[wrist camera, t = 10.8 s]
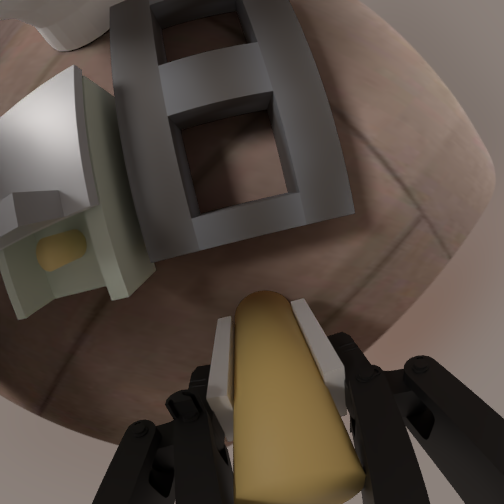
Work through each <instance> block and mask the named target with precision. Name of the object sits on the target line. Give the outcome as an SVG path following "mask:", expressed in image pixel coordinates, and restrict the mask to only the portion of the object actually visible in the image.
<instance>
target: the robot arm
mask: <svg viewBox="0 0 504 504" xmlns="http://www.w3.org/2000/svg"><path fill="white" fill-rule="evenodd" d="M291 306H292V311H293V313H294V316H295V318H296V320H297V322H298V325H299V327H300V329H301V331H302V334H303V336H304V338H305V340H306V343H307V345H308V347H309V349H310V352H311V354H312V356H313V359H314V361H315V363H316V365H317V368H318V370H319V372H320V375H321V377H322V379H323V382H324V384H325V385H326V387H327V388H328V389H329V391H330V394H331V396H332V398H333V400H334V403H335V405H336V407H337V409H338V412H339V414H340V416H345V415H347V409H348V411H349V413H350V432H352V435H353V440H354V446H355V451H356V453H357V456H358V458H359V460H360V463H361V465H362V467H363V470H364V472H365V475H366V477H365V483H364V488H363V489H362V490H361V491H362V499H363V504H430V501H429V497H428V494H427V490H426V487H425V483H424V480H423V477H422V474H421V470H420V467H419V464H418V461H417V458H416V455H415V453H414V449H413V446H412V443H411V440H410V438H409V435H408V432H407V429H406V427H407V428H408V429H409V431H410V432H411V433H412V434H413V436H414V437H415V438H416V439H417V441H418V442H419V444H420V445H421V446H422V447H423V449H424V450H425V451H426V453H427V454H428V455H429V456H430V458H431V459H432V460H433V462H434V463H435V464H436V466H437V467H438V468H439V470H440V471H441V472H442V473H443V475H444V476H445V477H446V479H447V480H448V481H449V483H450V484H451V485H452V487H453V488H454V489H455V490H456V492H457V493H458V494H459V496H460V497H461V499H462V500H463V501H464V503H465V504H504V419H503V418H502V417H501V416H500V415H499V414H498V413H496V412H495V411H494V410H493V409H492V408H491V407H490V406H489V405H487V404H486V403H485V402H484V401H483V400H482V399H481V398H479V397H478V396H477V395H476V394H474V392H472V391H471V390H470V389H469V388H468V387H466V386H465V385H464V384H463V383H462V382H461V381H459V380H458V379H457V378H456V377H455V376H453V375H452V374H451V373H450V372H449V371H447V370H446V369H445V368H444V367H443V366H441V365H440V364H439V363H438V362H437V361H435V360H434V359H433V358H431V357H429V356H424V355H422V356H415V357H412V358H411V359H409V360H408V361H407V362H406V363H405V365H404V369H400V370H394V371H383V370H382V369H381V368H380V367H378V366H376V365H371V364H370V362H369V361H368V360H367V358H366V357H365V356H364V354H363V353H362V351H361V350H360V349H359V348H358V346H357V345H356V343H355V342H354V341H353V339H352V338H351V336H349V335H347V334H345V333H343V332H340V333H337V334H334V335H330V336H326V335H325V333H324V331H323V329H322V328H321V326H320V324H319V323H318V321H317V319H316V318H315V316H314V314H313V313H312V311H311V309H310V308H309V306H308V304H307V303H306V301H305V299H304V298H302V299H299V300H295V301H291ZM234 337H235V327H234V324H233V321H232V317H231V316H228V317H223V318H219V319H218V321H217V327H216V334H215V340H214V347H213V354H212V360H211V365H205V366H198V367H197V368H196V369H195V370H194V372H193V373H192V375H191V379H190V383H189V388H188V390H181V391H178V392H175V393H174V394H172V395H171V396H170V397H169V398H168V399H167V400H166V403H165V405H166V407H167V409H168V411H169V412H170V414H171V415H172V417H173V419H174V420H173V421H171V422H169V423H166V424H162V425H159V426H155V424H154V423H153V422H151V421H149V420H139V421H137V422H134V423H133V424H131V425H130V426H129V427H128V429H127V430H126V432H125V434H124V436H123V438H122V440H121V442H120V444H119V446H118V448H117V451H116V453H115V455H114V457H113V459H112V461H111V463H110V465H109V468H108V470H107V472H106V474H105V476H104V478H103V480H102V483H101V485H100V487H99V489H98V491H97V494H96V496H95V498H94V500H93V503H92V504H174V502H175V501H176V504H234V486H233V471H232V467H231V462H230V458H229V453H228V449H227V448H226V446H225V444H224V438H225V437H226V438H227V440H228V442H230V441H233V411H234ZM346 407H347V408H346ZM405 426H406V427H405Z"/></svg>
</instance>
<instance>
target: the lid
mask: <svg viewBox="0 0 504 504" xmlns="http://www.w3.org/2000/svg"><path fill="white" fill-rule="evenodd" d="M98 205H99V201H98V197H97V192H96V187H95V183H94V178H93V172H92V167H91V161H90V155H89V148H88V141H87V134H86V126H85V116H84V105H83V90H82V70H81V69H79V68H78V67H77V66H75V65H72V66H71V67H69V68H67V69H65V70H64V71H62V72H61V73H59V74H57V75H56V76H54V77H53V78H51V79H50V80H48V81H47V82H45V83H44V84H42V85H41V86H39V87H38V88H37V89H35V90H34V91H33V92H31V93H30V94H29V95H27V96H26V97H25V98H23V99H22V100H21V101H19V102H18V103H17V104H16V105H15V106H13V107H12V108H11V109H10V110H9V111H7V112H6V113H5V114H4V115H3V116H2V117H1V118H0V250H2V249H4V248H6V247H8V246H10V245H12V244H13V243H15V242H17V241H19V240H21V239H23V238H25V237H27V236H29V235H31V234H33V233H35V232H37V231H40V230H42V229H44V228H46V227H48V226H50V225H53V224H55V223H57V222H59V221H61V220H64V219H66V218H68V217H71V216H73V215H75V214H78V213H80V212H83V211H85V210H88V209H90V208H93V207H95V206H98Z"/></svg>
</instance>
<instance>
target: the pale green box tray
mask: <svg viewBox="0 0 504 504" xmlns="http://www.w3.org/2000/svg"><path fill="white" fill-rule="evenodd" d="M82 90H83V105H84V116H85V126H86V134H87V141H88V148H89V155H90V161H91V167H92V172H93V178H94V183H95V187H96V192H97V197H98V201H99V205H98V206H95V207H93V208H90V209H88V210H85V211H83V212H80V213H78V214H75V215H73V216H71V217H68V218H66V219H64V220H61V221H59V222H57V223H55V224H53V225H50V226H48V227H46V228H44V229H42V230H40V231H37V232H35V233H33V234H31V235H29V236H27V237H25V238H23V239H21V240H19V241H17V242H15V243H13V244H12V245H10V246H8V247H6V248H4V249H2V250H0V271H1V275H2V278H3V281H4V284H5V287H6V290H7V293H8V296H9V298H10V301H11V304H12V306H13V309H14V311H15V314H16V316H17V319H18V320H21V319H26V318H28V317H29V316H30V315H32V314H33V313H35V312H36V311H38V310H39V309H41V308H42V307H43V306H45V305H46V304H48V303H49V302H51V301H52V300H54V299H56V298H60V297H64V296H68V295H73V294H77V293H81V292H85V291H89V290H93V289H97V288H101V287H105V286H107V289H108V292H109V295H110V297H111V300H112V301H113V300H118V299H122V298H127V297H130V296H131V295H132V294H133V293H134V292H135V291H136V290H137V289H138V288H139V287H140V286H141V285H142V284H143V283H144V282H145V281H146V280H147V279H148V278H149V277H150V276H151V275H152V274H153V273H154V272H155V271H156V268H155V265H154V262H153V263H151V262H150V259H149V256H148V252H147V249H146V246H145V242H144V239H143V235H142V232H141V228H140V224H139V221H138V217H137V213H136V209H135V205H134V201H133V197H132V193H131V188H130V184H129V179H128V175H127V170H126V165H125V160H124V155H123V149H122V144H121V138H120V132H119V126H118V119H117V112H116V105H115V97H114V96H112V95H111V94H109V93H108V92H107V91H105V90H104V89H102V88H101V87H100V86H98V85H97V84H95V83H94V82H93V81H91V80H90V79H88V78H87V77H85V76H82Z"/></svg>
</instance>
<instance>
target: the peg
mask: <svg viewBox="0 0 504 504" xmlns="http://www.w3.org/2000/svg"><path fill="white" fill-rule="evenodd" d="M365 477H366V475H365V472H364V470H363V467H362V465H361V463H360V460H359V458H358V456H357V453H356V451H355V449H354V447H353V444H352V442H351V439H350V437H349V435H348V432H347V430H346V428H345V426H344V423H343V421H342V419H341V416H340V414H339V412H338V409H337V407H336V405H335V403H334V400H333V398H332V396H331V394H330V391H329V389H328V388H327V387H326V385H325V384H324V382H323V379H322V377H321V375H320V372H319V370H318V368H317V365H316V363H315V361H314V359H313V356H312V354H311V352H310V349H309V347H308V345H307V343H306V340H305V338H304V336H303V334H302V331H301V329H300V327H299V325H298V322H297V320H296V318H295V316H294V313H293V311H292V307H291V305H290V303H289V302H288V300H287V299H286V298H285V297H283V296H282V295H280V294H278V293H276V292H273V291H258V292H255V293H252V294H250V295H248V296H247V297H245V298H244V299H243V300H242V301H241V302H240V304H239V305H238V307H237V309H236V313H235V337H234V411H233V486H234V504H343V503H344V502H346V501H348V500H350V499H351V498H353V497H354V496H355V495H356V494H357V493H359V492H360V491H361V490H362V489H363V488H364V483H365Z"/></svg>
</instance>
